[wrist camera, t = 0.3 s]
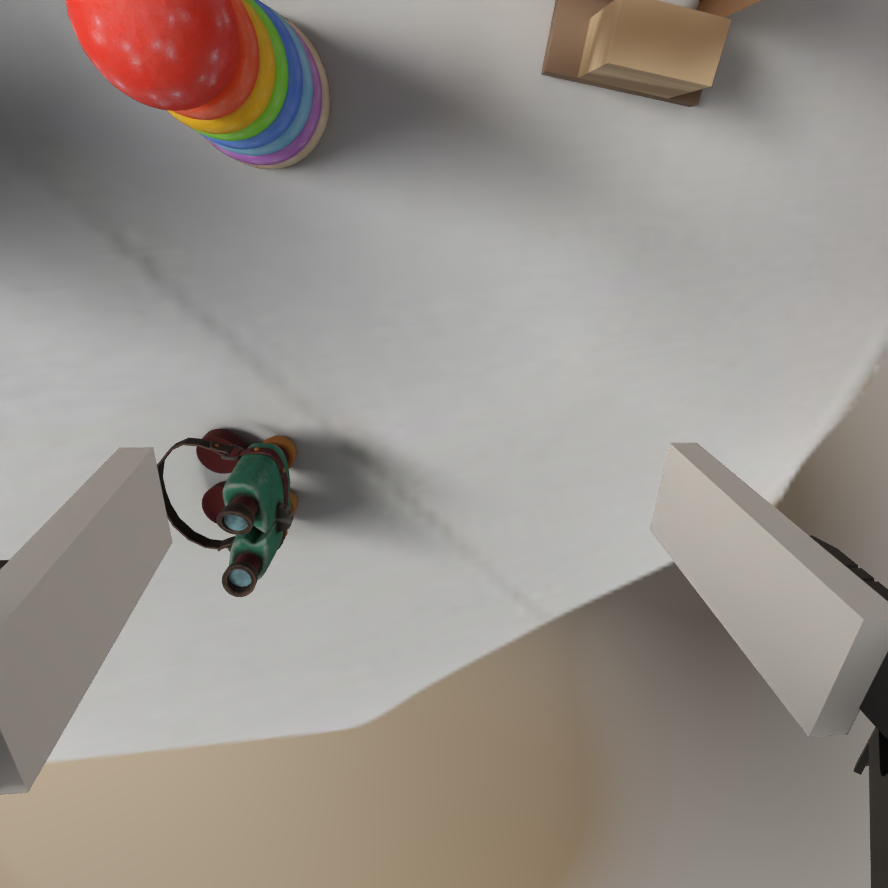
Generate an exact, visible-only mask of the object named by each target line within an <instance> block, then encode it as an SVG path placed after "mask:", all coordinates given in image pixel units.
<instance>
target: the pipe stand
mask: <svg viewBox="0 0 888 888" xmlns="http://www.w3.org/2000/svg"><path fill="white" fill-rule="evenodd" d="M698 3H699V0H556V2H555V7H554V12H553V17H552V23H551V28H550V33H549V38H548V43H547V48H546V53H545V58H544V63H543V68H542V73H541V74H543V75H547V76H552V77H557V78H561V79H566V80H570V81H575V82H579V83H584V84H588V85H593V86H598V87H602V88H607V89H611V90H616V91H620V92H625V93H630V94H634V95H639V96H643V97H648V98H652V99H657V100H662V101H666V102H671V103H675V104H680V105H684V106H689V107H690V106H695V105H698V102H699V98H700V95H701V92H702V89H704V88H708V87H711V86H712V83H713V80H714V76H715V73H716V70H717V67H718V63H719V60H720V57H721V54H722V50H723V47H724V44H725V41H726V37H727V34H728V31H729V28H730V24H731V21H732V19H729V18H725V17H721V16H717V15H713V14H709V13H705V12H701V11H697V7H698Z"/></svg>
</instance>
